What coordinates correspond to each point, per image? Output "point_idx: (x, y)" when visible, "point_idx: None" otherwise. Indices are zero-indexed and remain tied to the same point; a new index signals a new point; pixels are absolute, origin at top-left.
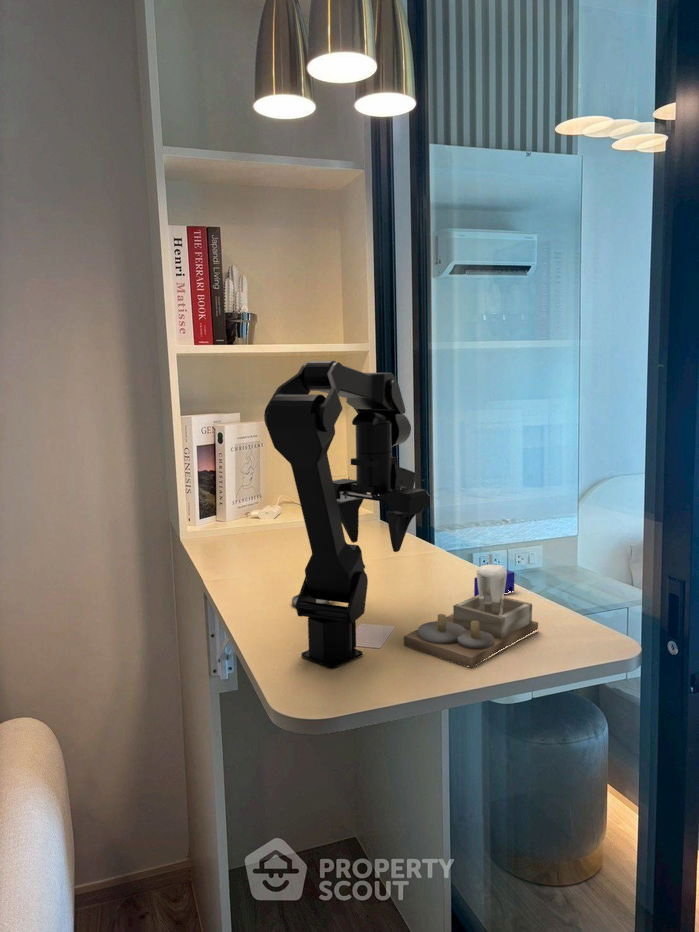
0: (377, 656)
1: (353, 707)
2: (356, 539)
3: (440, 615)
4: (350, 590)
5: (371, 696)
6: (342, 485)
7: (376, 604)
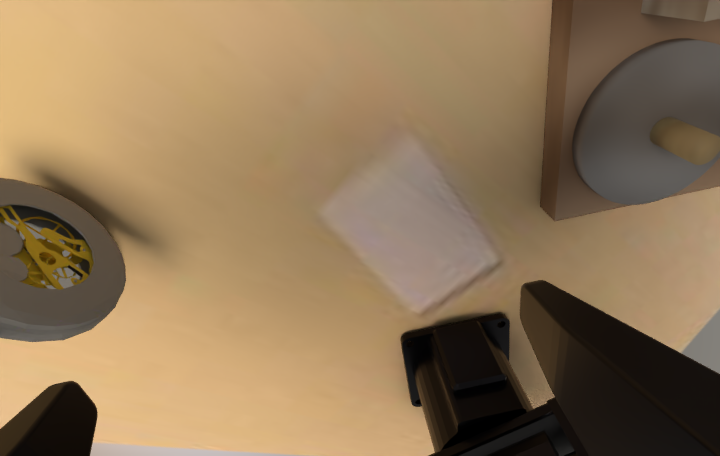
0: None
1: None
2: (68, 402)
3: (701, 154)
4: None
5: None
6: None
7: (157, 39)
